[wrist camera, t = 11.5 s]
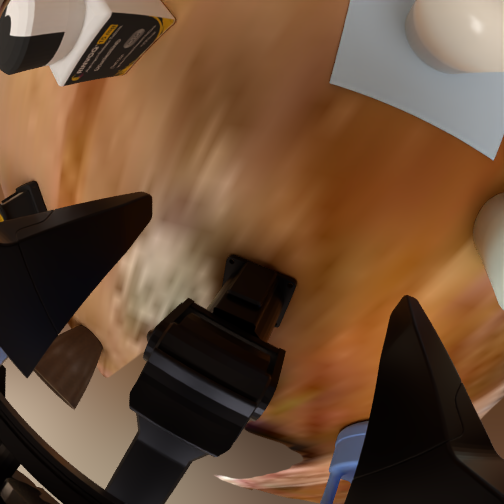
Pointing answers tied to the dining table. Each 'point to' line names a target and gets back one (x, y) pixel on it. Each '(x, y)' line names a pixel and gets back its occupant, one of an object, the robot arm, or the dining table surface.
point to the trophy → (22, 203)
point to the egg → (458, 35)
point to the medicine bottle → (79, 36)
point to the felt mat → (416, 77)
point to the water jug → (345, 458)
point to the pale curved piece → (492, 242)
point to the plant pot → (70, 364)
